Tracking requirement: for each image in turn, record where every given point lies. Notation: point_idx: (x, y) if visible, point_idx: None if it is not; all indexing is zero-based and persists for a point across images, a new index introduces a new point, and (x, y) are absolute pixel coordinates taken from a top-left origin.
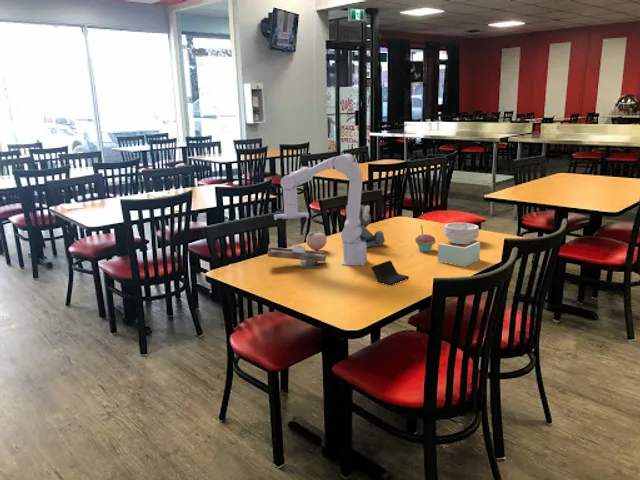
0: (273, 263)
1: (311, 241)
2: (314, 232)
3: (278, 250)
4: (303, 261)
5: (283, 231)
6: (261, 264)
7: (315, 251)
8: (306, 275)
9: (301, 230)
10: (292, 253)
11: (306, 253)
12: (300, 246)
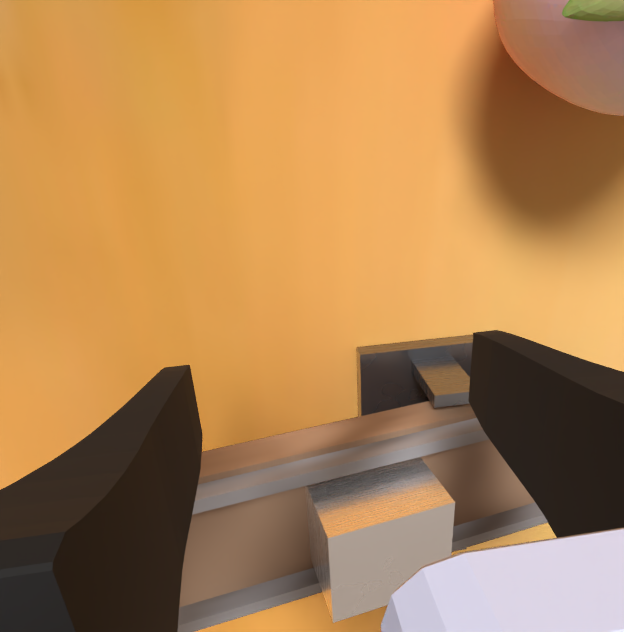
0: (120, 379)
1: (570, 88)
2: None
3: None
4: (384, 407)
5: (187, 518)
6: (11, 398)
7: None
8: (384, 612)
9: (521, 466)
10: (315, 591)
11: (436, 467)
12: (406, 558)
